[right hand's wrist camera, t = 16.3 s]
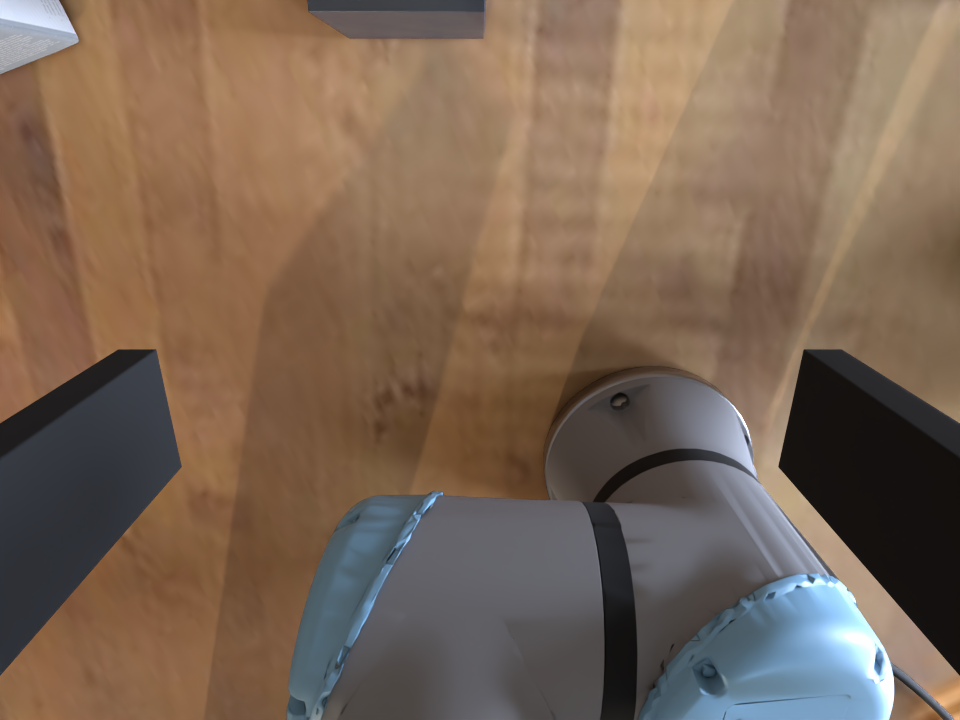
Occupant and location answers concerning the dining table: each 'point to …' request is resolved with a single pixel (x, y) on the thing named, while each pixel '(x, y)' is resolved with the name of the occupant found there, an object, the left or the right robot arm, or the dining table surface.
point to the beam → (402, 18)
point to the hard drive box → (32, 31)
